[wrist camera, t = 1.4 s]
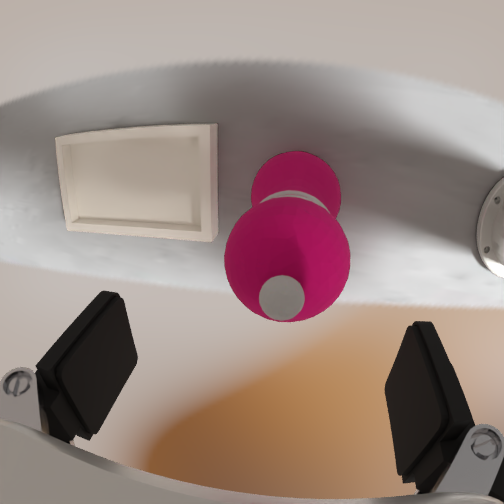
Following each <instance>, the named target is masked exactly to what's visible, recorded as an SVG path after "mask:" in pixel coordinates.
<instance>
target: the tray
mask: <svg viewBox="0 0 504 504" xmlns="http://www.w3.org/2000/svg"><path fill="white" fill-rule="evenodd" d="M55 144H56V156H57V165H58V174H59V182H60V190H61V197H62V203H63V209H64V215H65V221H66V226H67V231H78V232H91V233H104V234H116V235H129V236H141V237H153V238H166V239H178V240H190V241H202V242H213V240H214V239H215V237H216V236H217V234H218V233H219V229H218V123H212V124H173V125H154V126H139V127H127V128H116V129H106V130H97V131H89V132H81V133H74V134H68V135H63V136H59V137H55Z"/></svg>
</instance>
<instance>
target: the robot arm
mask: <svg viewBox="0 0 504 504" xmlns="http://www.w3.org/2000/svg"><path fill="white" fill-rule="evenodd" d="M477 246H478V252H479V254H480V257H481V259H482V261H483V262H484V264H485V266H486V267H487V268H488V269H489V270H490V271H491V272H492V273H493V274H495V275H496V276H498V277H501V278H504V177H503V178H502V179H501V180H500V181H499V182H498V183H497V184H496V185H495V186H494V187H493V189H492V190H491V191H490V193H489V194H488V196H487V198H486V200H485V202H484V204H483V206H482V209H481V212H480V215H479V219H478V225H477ZM137 359H138V356H137V352H136V348H135V344H134V340H133V337H132V333H131V329H130V324H129V320H128V316H127V312H126V308H125V303H124V300H123V299H122V298H120V296H119V294H118V293H115V292H109V291H101V292H100V293H99V294H98V295H97V296H96V297H95V299H94V300H93V301H92V302H91V303H90V304H89V305H88V306H87V307H86V308H85V310H84V311H83V312H82V313H81V314H80V315H79V316H78V317H77V318H76V319H75V320H74V322H73V323H72V324H71V325H70V326H69V327H68V328H67V330H66V331H65V332H64V333H63V334H62V335H61V336H60V337H59V339H58V340H57V341H56V342H55V343H54V345H53V346H52V347H51V348H50V349H49V350H48V352H47V353H46V354H45V355H44V356H43V358H42V359H41V360H40V361H39V362H38V363H37V365H36V367H37V371H36V372H35V373H34V372H33V371H32V370H31V369H29V368H24V367H20V368H16V369H13V370H11V371H9V372H8V373H6V374H5V376H4V377H3V378H2V380H1V382H0V504H504V437H503V435H502V434H501V432H500V431H499V430H498V429H496V428H495V427H493V426H491V425H488V424H479V425H476V426H475V424H474V421H473V418H472V415H471V412H470V409H469V406H468V404H467V401H466V398H465V396H464V393H463V390H462V388H461V386H460V383H459V380H458V378H457V376H456V373H455V370H454V368H453V366H452V364H451V363H450V361H449V359H448V356H447V354H446V352H445V349H444V347H443V345H442V343H441V340H440V338H439V336H438V334H437V332H436V330H435V327H434V325H433V324H432V322H425V321H415V322H414V323H413V325H412V326H408V328H407V330H406V333H405V335H404V338H403V341H402V343H401V346H400V349H399V351H398V354H397V357H396V359H395V362H394V364H393V367H392V369H391V372H390V374H389V376H388V379H387V381H386V384H385V396H386V401H387V407H388V413H389V419H390V424H391V431H392V438H393V444H394V451H395V459H396V467H397V473H398V475H400V476H401V475H402V480H403V483H411V482H415V484H416V489H417V491H416V492H415V493H414V495H406V496H396V497H384V498H365V499H301V498H286V497H273V496H263V495H255V494H247V493H240V492H233V491H227V490H221V489H215V488H210V487H205V486H199V485H195V484H191V483H186V482H181V481H178V480H174V479H170V478H166V477H162V476H158V475H155V474H151V473H148V472H145V471H141V470H138V469H135V468H131V467H129V466H126V465H122V464H119V463H117V462H114V461H111V460H108V459H106V458H103V457H100V456H97V455H95V454H93V453H90V452H88V451H85V450H83V449H80V448H77V447H75V444H74V440H73V439H74V437H75V435H77V436H79V437H82V438H84V439H87V440H90V439H91V437H92V435H93V434H97V433H98V431H99V430H100V428H101V426H102V424H103V422H104V420H105V419H106V417H107V415H108V413H109V412H110V410H111V408H112V406H113V404H114V403H115V401H116V399H117V397H118V396H119V394H120V392H121V390H122V388H123V386H124V385H125V383H126V381H127V380H128V378H129V376H130V375H131V373H132V371H133V369H134V368H135V366H136V364H137Z"/></svg>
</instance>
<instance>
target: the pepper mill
mask: <svg viewBox="0 0 504 504" xmlns="http://www.w3.org/2000/svg"><path fill="white" fill-rule="evenodd" d="M251 202H252V208H251V209H250V210H249V211H247V212H246V213H245V214H243V215H242V216H241V218H240V219H239V220H238V221H237V223H236V224H235V226H234V228H233V230H232V231H231V233H230V235H229V238H228V241H227V244H226V249H225V255H224V262H225V270H226V275H227V279H228V282H229V284H230V286H231V288H232V290H233V292H234V293H235V295H236V296H237V298H238V299H239V300H240V301H241V302H242V303H243V304H244V305H245V306H246V307H247V308H249V309H250V310H251V311H252V312H254V313H255V314H258V315H260V316H262V317H264V318H266V319H269V320H273V321H278V322H295V321H301V320H305V319H308V318H311V317H314V316H315V315H317V314H319V313H321V312H323V311H324V310H326V309H327V308H328V307H329V306H331V305H332V304H333V302H334V301H335V300H336V299H337V298H338V297H339V295H340V294H341V292H342V290H343V288H344V286H345V284H346V281H347V279H348V275H349V270H350V250H349V244H348V240H347V238H346V236H345V234H344V232H343V230H342V228H341V226H340V224H339V222H338V221H337V220H336V217H337V215H338V213H339V209H340V204H341V192H340V185H339V182H338V179H337V177H336V175H335V173H334V172H333V170H332V169H331V168H330V166H329V165H328V164H326V163H325V162H324V161H323V160H322V159H320V158H318V157H317V156H314V155H312V154H310V153H307V152H301V151H292V152H286V153H282V154H279V155H277V156H275V157H273V158H271V159H270V160H268V161H267V162H266V163H265V164H264V165H263V166H262V167H261V169H260V170H259V171H258V173H257V175H256V177H255V179H254V183H253V186H252V192H251Z"/></svg>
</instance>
